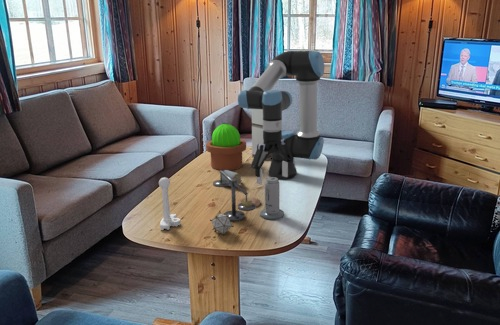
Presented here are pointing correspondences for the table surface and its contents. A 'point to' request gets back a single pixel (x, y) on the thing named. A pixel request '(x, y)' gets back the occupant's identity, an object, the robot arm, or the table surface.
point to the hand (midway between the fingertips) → (272, 180)
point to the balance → (245, 203)
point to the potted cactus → (226, 148)
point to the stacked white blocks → (257, 131)
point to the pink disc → (254, 201)
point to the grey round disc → (272, 217)
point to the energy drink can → (272, 195)
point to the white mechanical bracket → (167, 207)
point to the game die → (221, 223)
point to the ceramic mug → (232, 176)
